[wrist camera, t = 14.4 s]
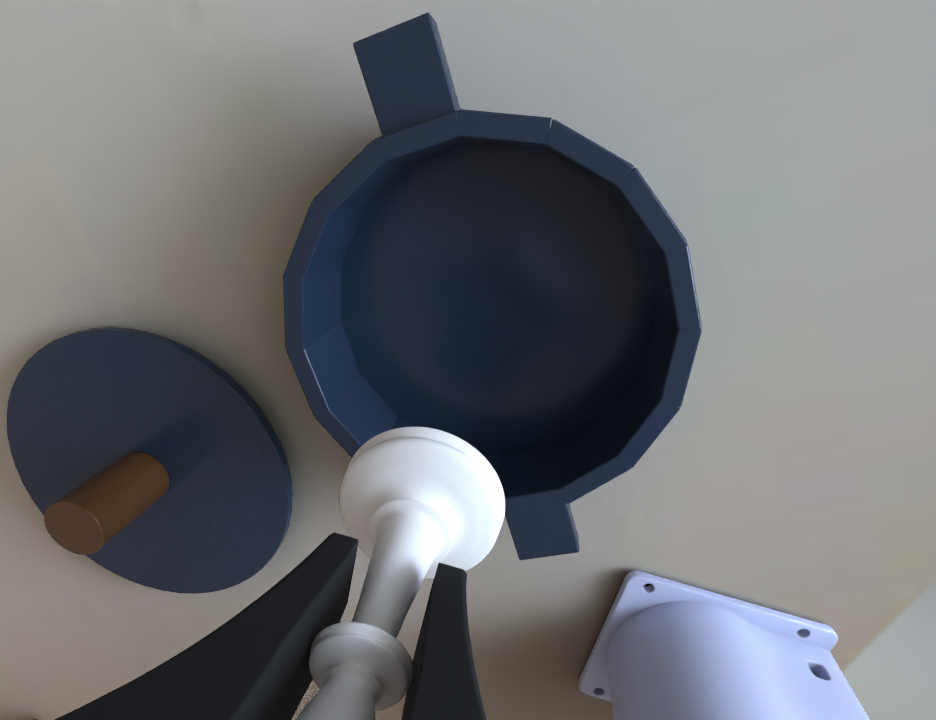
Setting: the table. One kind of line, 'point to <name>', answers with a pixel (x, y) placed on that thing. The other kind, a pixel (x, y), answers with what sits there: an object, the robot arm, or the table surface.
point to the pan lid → (149, 460)
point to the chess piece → (400, 558)
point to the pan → (490, 292)
